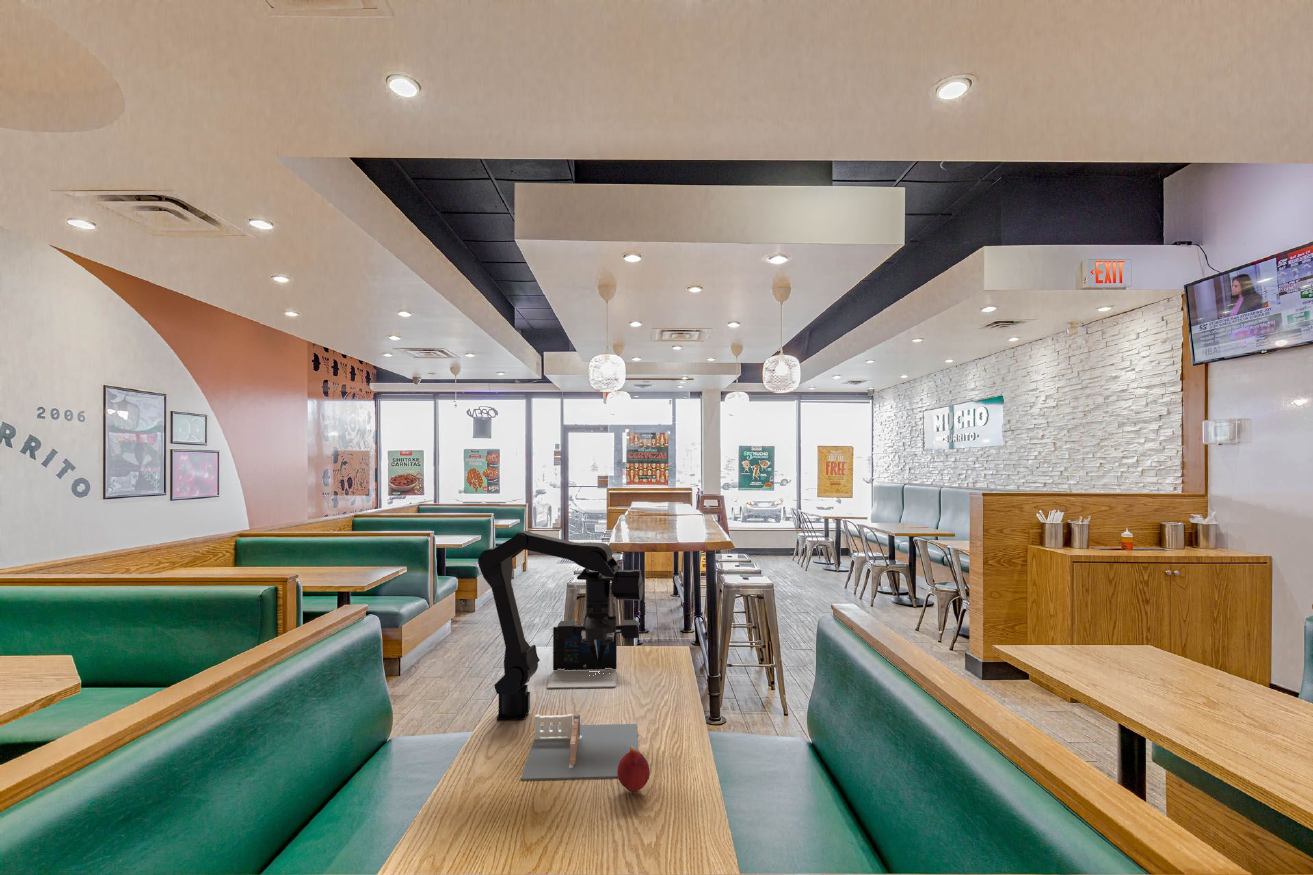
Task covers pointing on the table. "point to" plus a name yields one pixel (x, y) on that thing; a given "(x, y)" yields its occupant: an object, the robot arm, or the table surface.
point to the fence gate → (575, 738)
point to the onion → (633, 771)
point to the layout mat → (581, 753)
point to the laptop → (582, 664)
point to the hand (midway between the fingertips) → (597, 667)
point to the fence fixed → (554, 726)
